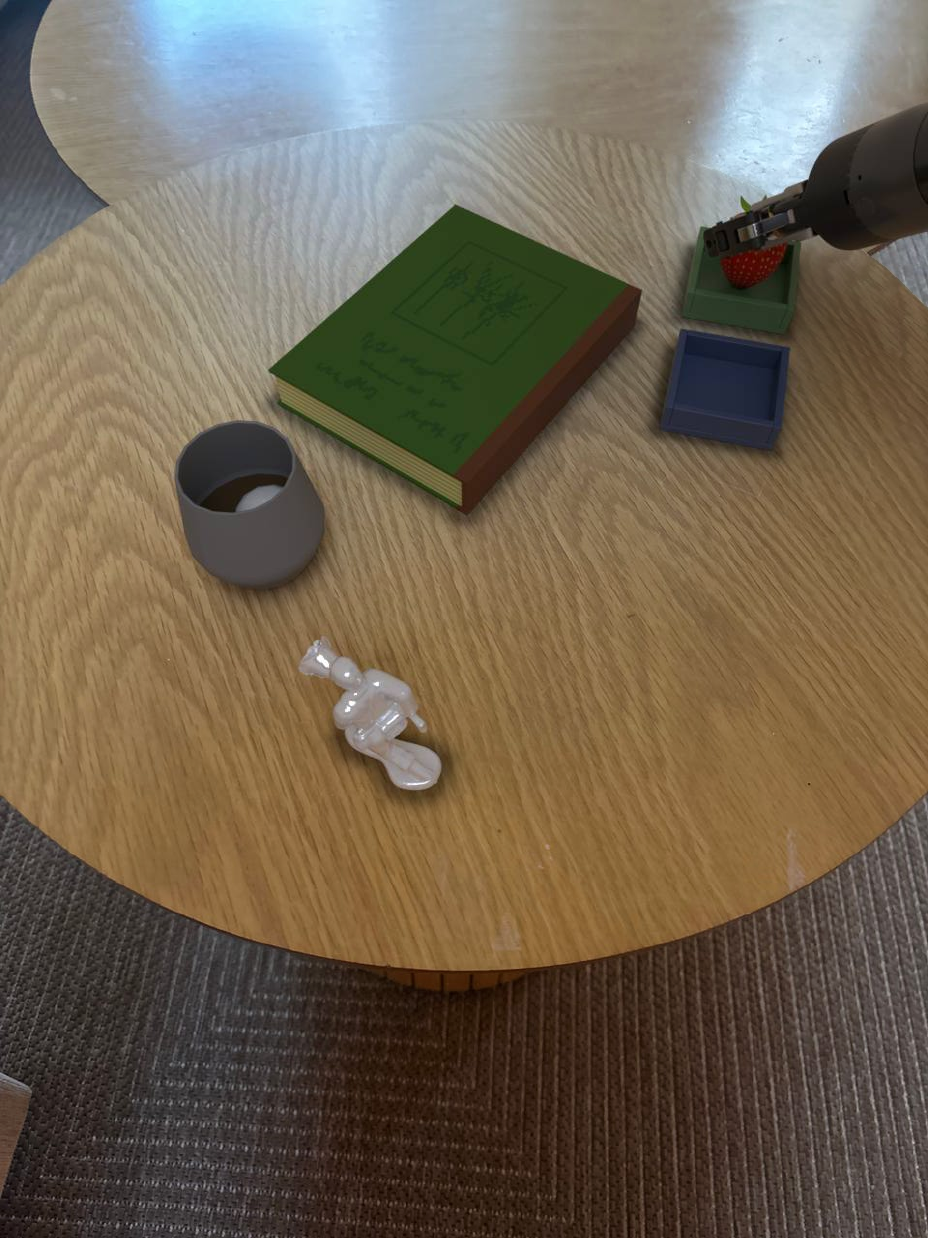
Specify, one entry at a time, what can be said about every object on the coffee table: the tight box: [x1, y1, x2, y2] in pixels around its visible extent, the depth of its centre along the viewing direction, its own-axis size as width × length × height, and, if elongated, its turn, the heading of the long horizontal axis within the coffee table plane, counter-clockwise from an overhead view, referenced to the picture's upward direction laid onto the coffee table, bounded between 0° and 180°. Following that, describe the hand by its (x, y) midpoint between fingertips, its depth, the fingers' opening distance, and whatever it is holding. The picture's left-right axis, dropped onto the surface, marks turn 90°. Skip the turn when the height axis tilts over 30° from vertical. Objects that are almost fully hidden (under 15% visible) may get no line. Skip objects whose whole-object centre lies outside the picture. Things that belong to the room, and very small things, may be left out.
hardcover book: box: [268, 204, 643, 516], centre depth 71 cm, size 25×19×4 cm
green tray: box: [680, 225, 802, 335], centre depth 76 cm, size 9×9×3 cm
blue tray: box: [658, 328, 791, 452], centre depth 70 cm, size 9×9×3 cm
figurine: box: [297, 635, 443, 791], centre depth 51 cm, size 5×9×12 cm, turn 63°
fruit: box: [720, 194, 787, 288], centre depth 73 cm, size 5×5×8 cm
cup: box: [173, 419, 326, 591], centre depth 59 cm, size 10×9×10 cm
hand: (739, 231), depth 74 cm, fingers open, 5 cm apart
